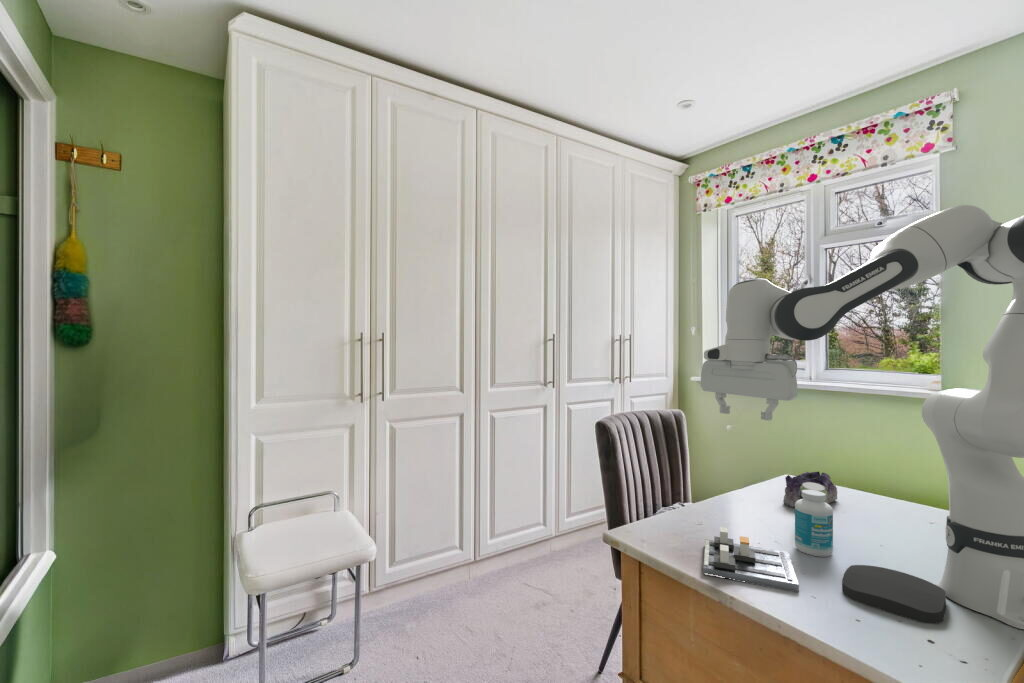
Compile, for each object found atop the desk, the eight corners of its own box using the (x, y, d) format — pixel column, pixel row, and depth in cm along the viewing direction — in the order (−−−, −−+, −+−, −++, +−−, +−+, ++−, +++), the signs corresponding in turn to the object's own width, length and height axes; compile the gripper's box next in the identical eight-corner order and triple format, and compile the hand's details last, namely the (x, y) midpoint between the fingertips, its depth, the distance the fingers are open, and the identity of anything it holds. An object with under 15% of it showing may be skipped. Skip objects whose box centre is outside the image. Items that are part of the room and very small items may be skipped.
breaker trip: (754, 555, 101) (754, 537, 101) (755, 563, 98) (755, 544, 98) (734, 552, 103) (733, 534, 103) (734, 559, 100) (734, 541, 100)
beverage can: (817, 525, 123) (817, 479, 123) (834, 536, 116) (833, 488, 116) (792, 524, 124) (792, 479, 124) (807, 535, 117) (806, 487, 117)
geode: (818, 516, 130) (811, 479, 131) (775, 510, 140) (769, 476, 141) (846, 499, 142) (840, 466, 143) (805, 494, 152) (799, 463, 153)
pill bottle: (815, 560, 103) (814, 498, 103) (787, 546, 110) (786, 489, 111) (841, 556, 105) (840, 495, 105) (812, 542, 112) (811, 486, 113)
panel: (787, 558, 104) (787, 551, 104) (798, 592, 90) (798, 583, 90) (705, 545, 111) (705, 538, 111) (703, 574, 97) (703, 566, 97)
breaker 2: (734, 562, 98) (734, 546, 98) (735, 570, 95) (735, 553, 95) (714, 559, 100) (713, 542, 100) (713, 566, 96) (713, 549, 96)
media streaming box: (837, 598, 88) (837, 582, 88) (853, 571, 99) (853, 557, 99) (942, 631, 78) (942, 613, 78) (947, 598, 88) (947, 582, 88)
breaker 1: (733, 543, 108) (733, 528, 108) (733, 549, 104) (733, 533, 104) (714, 540, 109) (714, 525, 109) (714, 546, 106) (714, 531, 106)
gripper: (804, 355, 95) (802, 423, 95) (713, 352, 112) (711, 409, 112) (789, 355, 92) (786, 425, 92) (697, 351, 109) (695, 410, 109)
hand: (744, 416), depth 102 cm, fingers open, 8 cm apart
